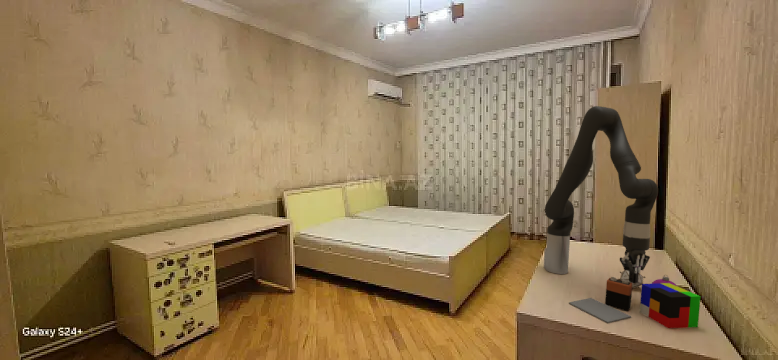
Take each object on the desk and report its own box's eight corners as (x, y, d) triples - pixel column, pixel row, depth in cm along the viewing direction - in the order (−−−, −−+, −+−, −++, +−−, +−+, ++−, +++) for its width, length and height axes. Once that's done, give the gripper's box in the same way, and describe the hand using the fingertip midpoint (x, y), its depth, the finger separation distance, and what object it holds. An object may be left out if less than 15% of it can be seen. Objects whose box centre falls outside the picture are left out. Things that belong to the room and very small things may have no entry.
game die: (636, 298, 125) (655, 285, 118) (614, 289, 126) (631, 275, 120) (631, 280, 132) (648, 267, 125) (610, 272, 133) (626, 258, 126)
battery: (628, 312, 106) (630, 283, 105) (604, 305, 111) (606, 277, 110) (630, 307, 109) (632, 280, 108) (607, 301, 114) (609, 274, 113)
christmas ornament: (644, 298, 116) (646, 272, 116) (657, 294, 120) (659, 269, 119) (671, 308, 109) (673, 280, 108) (684, 304, 112) (686, 277, 111)
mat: (568, 303, 112) (568, 302, 112) (590, 299, 116) (590, 297, 116) (607, 323, 99) (607, 321, 99) (631, 317, 103) (631, 316, 102)
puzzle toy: (639, 312, 106) (641, 283, 105) (666, 311, 107) (669, 283, 106) (668, 328, 96) (670, 297, 96) (697, 327, 97) (700, 296, 96)
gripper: (637, 231, 117) (634, 276, 118) (612, 233, 112) (609, 280, 113) (660, 235, 110) (657, 283, 111) (635, 239, 105) (632, 289, 106)
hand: (633, 282), depth 112 cm, fingers closed
